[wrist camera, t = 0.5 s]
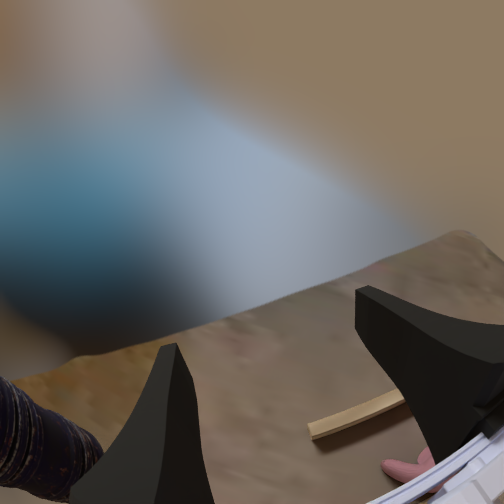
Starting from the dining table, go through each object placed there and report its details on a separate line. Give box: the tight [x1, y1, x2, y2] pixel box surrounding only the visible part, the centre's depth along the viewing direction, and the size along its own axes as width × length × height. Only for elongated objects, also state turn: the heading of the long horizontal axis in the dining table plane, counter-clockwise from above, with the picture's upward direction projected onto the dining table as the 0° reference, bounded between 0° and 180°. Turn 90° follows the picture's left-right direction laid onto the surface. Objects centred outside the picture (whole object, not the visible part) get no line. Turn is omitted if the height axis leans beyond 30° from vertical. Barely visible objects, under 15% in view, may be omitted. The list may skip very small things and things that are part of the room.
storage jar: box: [0, 376, 104, 503], centre depth 17 cm, size 10×10×15 cm
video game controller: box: [381, 447, 456, 493], centre depth 18 cm, size 10×5×7 cm, turn 133°
